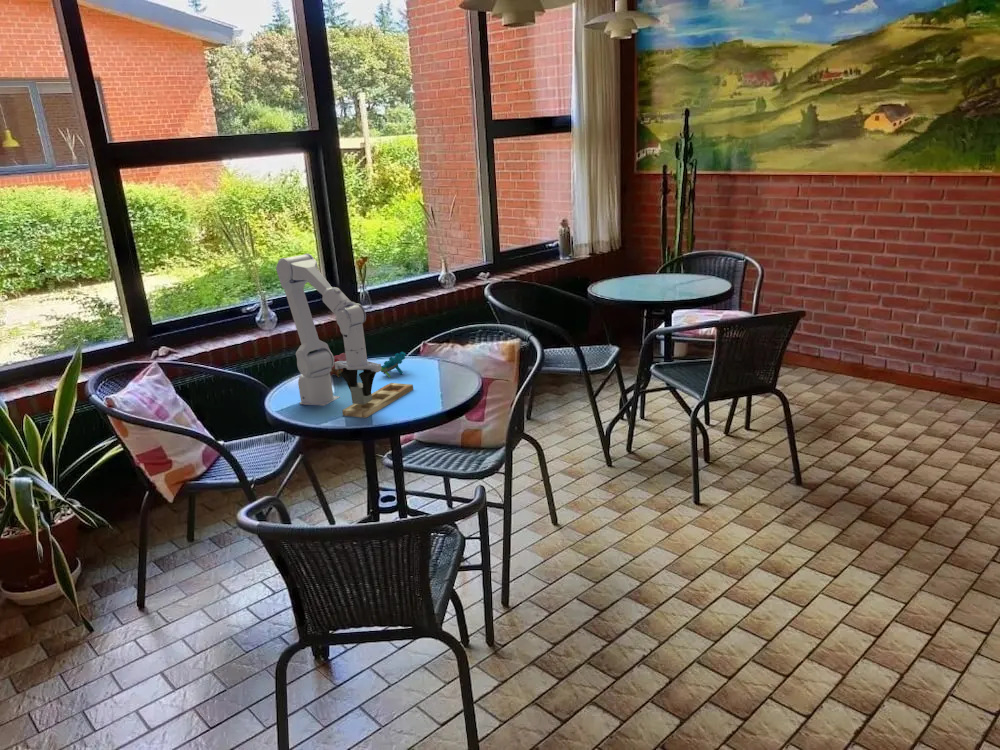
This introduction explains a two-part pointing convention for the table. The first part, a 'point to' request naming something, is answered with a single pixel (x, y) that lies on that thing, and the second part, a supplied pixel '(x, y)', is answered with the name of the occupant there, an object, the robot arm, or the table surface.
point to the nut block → (359, 394)
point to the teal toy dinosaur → (393, 363)
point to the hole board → (378, 400)
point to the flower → (334, 371)
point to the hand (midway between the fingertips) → (361, 394)
